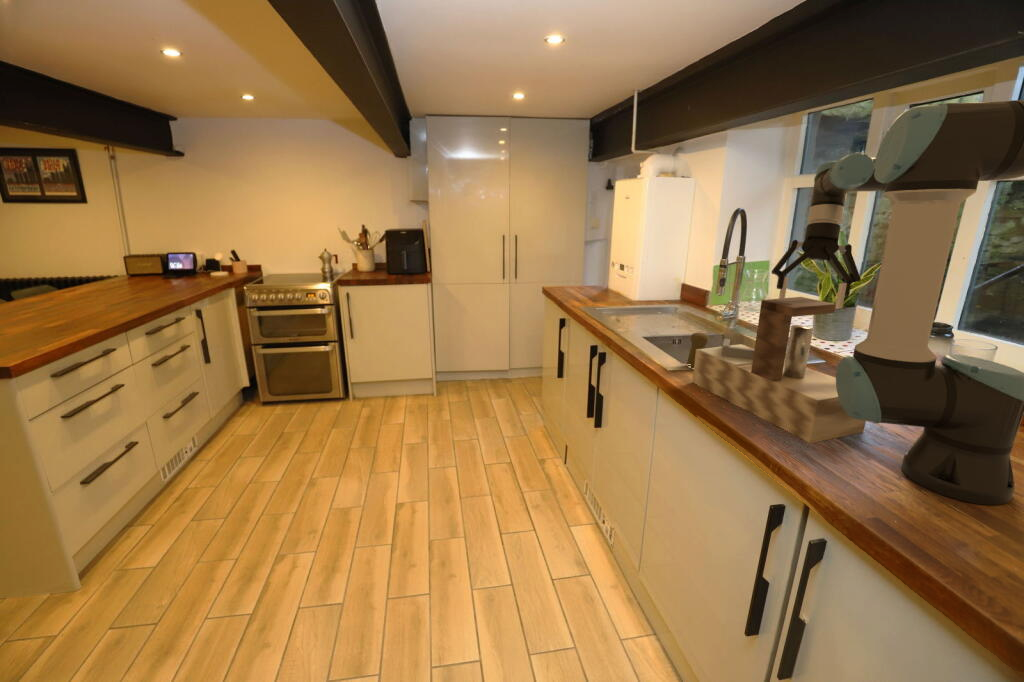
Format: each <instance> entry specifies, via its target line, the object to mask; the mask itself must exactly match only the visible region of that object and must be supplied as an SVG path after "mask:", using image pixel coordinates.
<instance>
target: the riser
mask: <svg viewBox="0 0 1024 682" xmlns="http://www.w3.org/2000/svg"><path fill="white" fill-rule="evenodd" d="M739 345H741V346H744V347H747V348H750V349H754V348H753V347H750V346H747V345H745V344H741V343H740V344H739ZM698 350H699V349H696V354H695V363H694V369H693V373H692V374H693V375H692V382H693V384H694V383H695V384H694V385H696V384H697V385H696V386H698V387H700V388H703V389H704V390H706V391H708V392H709V393H712V394H713V395H716V396H717V395H718V397H719V396H720V397H719V398H721V397H722V398H721V399H723V398H724V399H723V400H725V399H726V400H725V401H727V400H728V402H729V401H730V402H729V403H730V404H733V405H735V406H737V407H739V408H741V407H742V408H741V409H743V410H744V409H745V411H746V410H747V411H746V412H748V411H749V413H750V412H751V414H752V413H753V415H754V414H755V416H756V415H757V417H758V418H760V419H762V420H764V421H766V422H768V423H770V424H772V425H773V424H774V426H775V425H776V427H777V426H778V427H777V428H779V427H780V429H781V428H782V429H781V430H783V429H784V430H783V431H785V430H786V432H787V431H788V432H787V433H789V432H790V433H789V434H791V433H792V435H793V434H794V435H793V436H795V435H796V436H795V437H797V436H798V437H797V438H799V439H800V438H801V439H800V440H802V439H803V440H802V441H805V442H807V443H808V444H814V443H818V442H823V441H827V440H832V439H833V440H834V439H836V438H837V439H838V438H841V437H847V436H851V435H857V434H862V433H863V432H864V431H865V427H866V422H867V421H864V420H857V419H854V418H852V417H850V416H849V415H848V414H847V413H846V412H845V411H844V410H843V408H842V406H841V404H840V401H839V398H838V394H837V389H836V376H831V375H828V374H826V373H823V372H820V371H817V370H814V369H812V368H809V367H807V366H806V372H805V377H804V378H802V379H795V378H790V377H787V376H785V375H783V373H784V367H785V361H786V359H785V361H784V367H783V373H782V379H781V380H780V381H774V382H773V381H770V380H768V379H765V378H763V377H761V376H758V375H756V374H753V373H751V370H752V364H748V365H740V366H734V365H732V364H729V363H727V362H725V361H722V360H720V359H717V358H715V357H713V356H710V355H708V354H705V353H703V352H701V351H698Z"/></svg>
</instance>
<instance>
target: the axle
mask: <svg viewBox="0 0 1024 682" xmlns="http://www.w3.org/2000/svg"><path fill="white" fill-rule="evenodd" d="M813 332H814V327H812V326H809V325H803V324H791V325H790V331H789V337H788V343H787V349H786V355H785V360H786V361H785V367H784V373H783V375H785V376H787V377H790V378H795V379H802V378H804V377H805V372H806V367H807V366H808V365H807V364H808V360H809V355H810V349H811V348H810V347H811V343H812V338H813Z"/></svg>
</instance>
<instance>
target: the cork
mask: <svg viewBox="0 0 1024 682" xmlns="http://www.w3.org/2000/svg"><path fill="white" fill-rule="evenodd" d="M690 342H691V346H690V350H689V353H688V357H687V362H686V365H687V364H691V365H688V366H691V368H694V363H695V354H696V349H705V348H707V344H708V343H709V336H708V334H707V333H705V332H704V333H703V332H694V333H692V334H691V335H690Z"/></svg>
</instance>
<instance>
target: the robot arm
mask: <svg viewBox="0 0 1024 682" xmlns="http://www.w3.org/2000/svg"><path fill="white" fill-rule="evenodd" d="M1021 177H1024V99H1017V100H1016V99H1015V100H1007V101H976V102H974V101H973V102H971V101H970V102H941V103H936V104H929V105H921V106H915V107H911V108H909V109H907V110H905V111H904V112H902V113H901V114H900V115H899V116H898V117H896V119H895V120H894V121H893V122H892V124H891V125H890V126H889V128H888V129H887V131H886V132H885V134H884V136H883V139H882V140H881V142H880V145H879V147H878V149H877V152H876V156H875V157H872V156H870V155H868V154H865V153H864V152H853V153H850V154H847V155H846V156H844V157H842V158H841V159H839V160H834V161H833V160H831V161H828V162H826V163H825V162H824V163H822V164H820V165H819V166H818V167H817V170H816V174H815V176H814V179H813V181H814V182H813V183H814V184H813V188H812V196H811V201H810V207H809V213H808V217H807V223H808V225H807V226H806V228H805V235H804V239H803V242H802V241H799V240H797V239H794V240H792V241H790V243H789V245H788V248H787V250H786V252H785V253H784V255H783V256H781V258H780V260H779V261H778V262H777V264H775V266H774V267H773V269H772V270H771V274H773V275H775V276H776V277H777V283H776V289H777V290H779V295H778V299H781V298H786V292H787V288H788V282H789V277H788V276H787V275H788V274H789V273H791V272H792V271H793V270H794V269H795V268H797V267H798V266H799V265H800V264H802V263H803V262H804V261H805V260H806V259H808V260H809V261H816V260H817V261H819V262H820V261H821V262H825V261H826V262H827V263H828V264H829V265H830V266H831V267H832V269H833V271H834V272H835V273H836V275H837V276H838V278H839V279H840V280H841V282H842V283H841V282H840V283H839V284H838V290H837V294H836V300H835V304H836V307H835V309H837V310H838V309H840V310H841V309H843V307H844V300H845V297H848V296H849V295H850V291H851V287H852V284H854V283H858V282H860V281H862V278H861V275H860V273H859V270H858V267H857V265H856V261H855V259H854V257H853V253H852V251H853V248H852V247H853V246H852V245H851V244H849V243H848V244H846V245H839V238H840V233H841V224H842V221H843V218H844V217H843V216H844V209H845V205H846V204H845V203H846V200H847V194H849V193H850V192H851V193H852V192H884V193H883V195H884V196H885V197H886V199H888V200H889V202H890V203H891V204H892V207H891V211H890V212H891V213H890V217H889V223H888V228H887V233H886V238H885V243H884V248H883V254H882V259H881V264H880V270H879V274H878V278H877V284H876V289H875V293H874V298H873V305H872V309H871V315H870V318H869V319H870V320H869V324H868V330H867V334H866V338H865V339H864V340H862V341H861V342H859V343H857V344H855V345H854V349H853V354H852V356H849V355H848V356H844V357H842V358H841V359H840V360H839V361H838V362H839V363H838V364H837V367H836V370H835V371H836V372H835V378H836V389H837V394H838V398H839V401H840V404H841V406H842V408H843V410H844V411H845V412H846V413H847V414H848V415H849V416H850V417H852V418H854V419H857V420H864V421H866V422H871V423H873V424H888V425H889V424H890V425H899V426H900V425H901V426H909V427H920V428H923V430H922V433H921V434H920V436H919V437H918V438H917V439H916V440H915V442H914V443H913V444H912V445H911V446H910V448H909V450H908V451H907V452H906V453H905V454H904V455H903V459H902V462H901V470H902V472H903V473H904V474H905V475H906V476H907V477H908V478H909V479H910V480H912V481H914V482H915V483H917V484H918V485H920V486H922V487H925V488H926V489H928V490H930V491H933V492H935V493H937V494H941V496H942V495H943V496H945V497H949V498H951V499H952V498H953V499H955V500H958V501H962V502H966V503H973V504H979V505H988V506H996V505H997V506H999V505H1000V506H1001V505H1004V504H1007V503H1010V501H1011V500H1012V498H1013V495H1014V492H1015V490H1016V489H1015V488H1016V487H1015V481H1014V480H1015V479H1014V474H1013V467H1012V460H1011V453H1012V450H1013V447H1014V445H1015V441H1016V438H1017V436H1018V432H1019V429H1020V426H1021V423H1022V421H1023V417H1024V372H1022V371H1021V370H1019V369H1016V368H1014V367H1011V366H1008V365H1006V364H1002V363H999V362H995V361H993V360H989V359H984V358H981V357H977V356H976V357H975V356H969V355H965V354H964V355H963V354H960V353H959V354H957V353H948V354H944V355H943V356H942V358H941V359H940V362H941V363H936V362H937V357H938V356H937V355H936V353H934V352H933V351H932V350H931V349H930V348H929V346H928V345H929V342H930V341H929V340H930V337H931V333H932V329H933V324H934V320H935V315H936V310H937V306H938V302H939V299H940V294H941V288H942V285H943V281H944V276H945V271H946V267H947V263H948V259H949V254H950V250H951V246H952V242H953V237H954V232H955V228H956V225H957V219H958V216H959V210H960V207H961V204H962V203H963V202H964V201H965V200H966V199H968V198H969V197H971V196H972V195H974V194H975V193H977V190H978V189H977V188H978V185H979V182H986V181H987V182H989V181H1002V180H1003V181H1004V180H1010V179H1011V180H1012V179H1018V178H1021ZM800 248H801V250H802V251H803V253H802V254H801V255H800V256H799V257H797V258H796V259H795V260H794V261H792V262H791V263H790V264H789V265H787V266H786V267H785V268H783V267H784V266H785V264H786V263H787V262H788V260H789V259H790V258H791V257H792V255H793V254H794V252H795V251H796V250H798V249H800ZM837 251H839V253H840V254H841V255H842V258H843V261H844V262H843V263H844V264H845V267H846V269H847V270H846V269H845V268H844V266H843V264H841V262H840V260H839V259H838V257H837V255H836V254H835V253H836V252H837ZM782 268H783V269H782ZM781 269H782V270H781Z"/></svg>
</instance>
